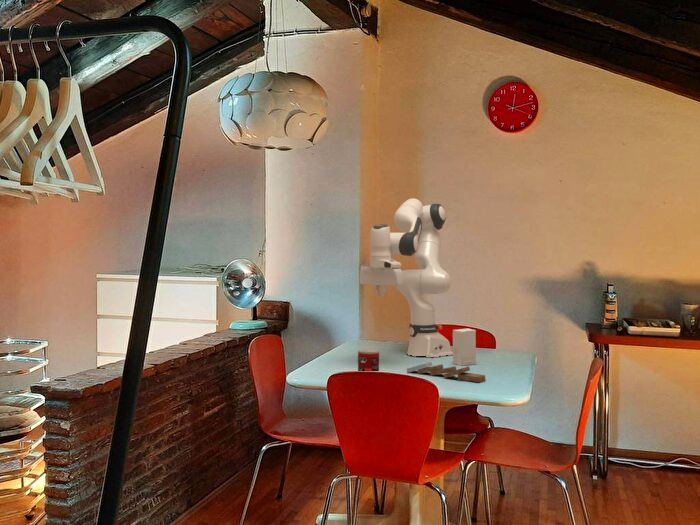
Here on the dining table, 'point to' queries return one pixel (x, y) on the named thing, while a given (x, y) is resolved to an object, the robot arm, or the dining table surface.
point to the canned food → (368, 360)
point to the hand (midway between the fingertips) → (380, 296)
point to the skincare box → (464, 346)
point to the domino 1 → (419, 367)
